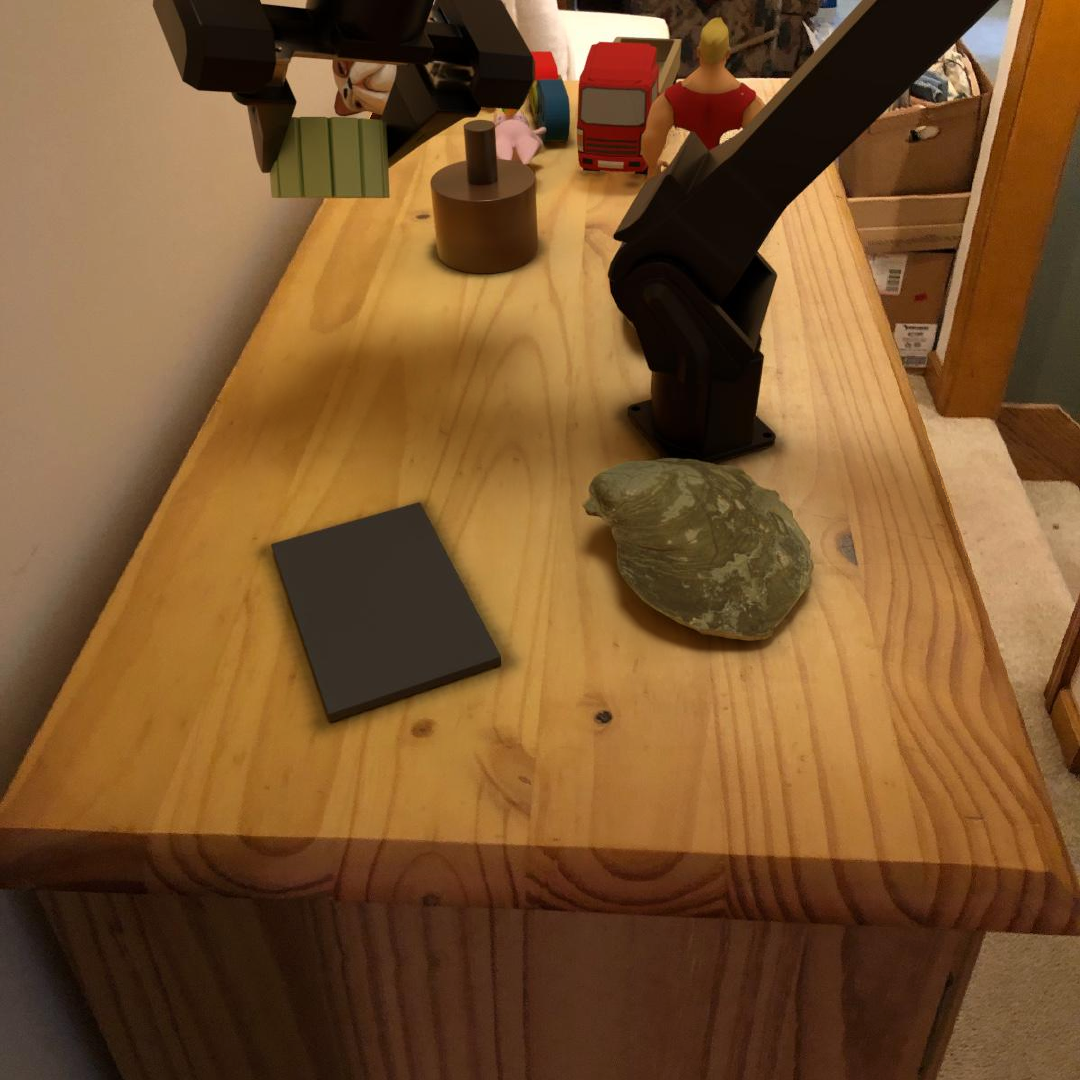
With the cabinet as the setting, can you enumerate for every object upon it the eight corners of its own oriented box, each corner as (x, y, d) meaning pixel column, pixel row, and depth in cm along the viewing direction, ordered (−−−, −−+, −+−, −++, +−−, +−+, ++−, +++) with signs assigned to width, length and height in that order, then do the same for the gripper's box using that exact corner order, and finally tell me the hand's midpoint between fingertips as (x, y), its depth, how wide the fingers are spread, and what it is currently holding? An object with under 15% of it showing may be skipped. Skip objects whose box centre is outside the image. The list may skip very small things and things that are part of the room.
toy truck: (571, 190, 84) (570, 62, 77) (614, 103, 99) (616, -10, 92) (653, 195, 83) (659, 66, 76) (685, 107, 98) (692, -8, 91)
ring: (405, 197, 56) (402, 119, 55) (290, 197, 53) (284, 114, 52) (366, 198, 61) (362, 127, 60) (260, 198, 58) (254, 123, 57)
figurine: (471, 131, 93) (322, 131, 96) (524, 71, 106) (391, 73, 110) (458, 33, 87) (301, 37, 91) (516, -17, 101) (377, -12, 104)
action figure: (762, 221, 79) (787, 12, 69) (761, 242, 76) (788, 27, 66) (640, 216, 80) (648, 9, 70) (635, 236, 78) (643, 24, 68)
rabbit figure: (476, 149, 95) (479, 188, 82) (471, 79, 91) (473, 109, 79) (543, 145, 95) (556, 184, 82) (541, 76, 92) (553, 105, 79)
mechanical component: (523, 46, 101) (553, 46, 101) (523, 87, 103) (552, 86, 104) (541, 103, 88) (575, 102, 89) (540, 147, 91) (573, 147, 91)
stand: (553, 260, 75) (550, 133, 69) (457, 282, 73) (445, 153, 67) (515, 220, 81) (509, 99, 74) (424, 239, 79) (410, 116, 72)
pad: (501, 665, 46) (501, 656, 46) (330, 722, 44) (328, 714, 44) (421, 509, 54) (419, 501, 54) (273, 552, 52) (270, 543, 52)
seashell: (800, 643, 44) (664, 464, 42) (669, 701, 48) (540, 540, 46) (828, 532, 52) (715, 378, 51) (714, 589, 57) (606, 449, 55)
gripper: (506, -170, 53) (415, 79, 66) (137, -256, 43) (111, 56, 56) (593, -28, 50) (481, 208, 62) (212, -86, 40) (167, 209, 52)
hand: (320, 168), depth 58 cm, fingers closed on ring, 6 cm apart
